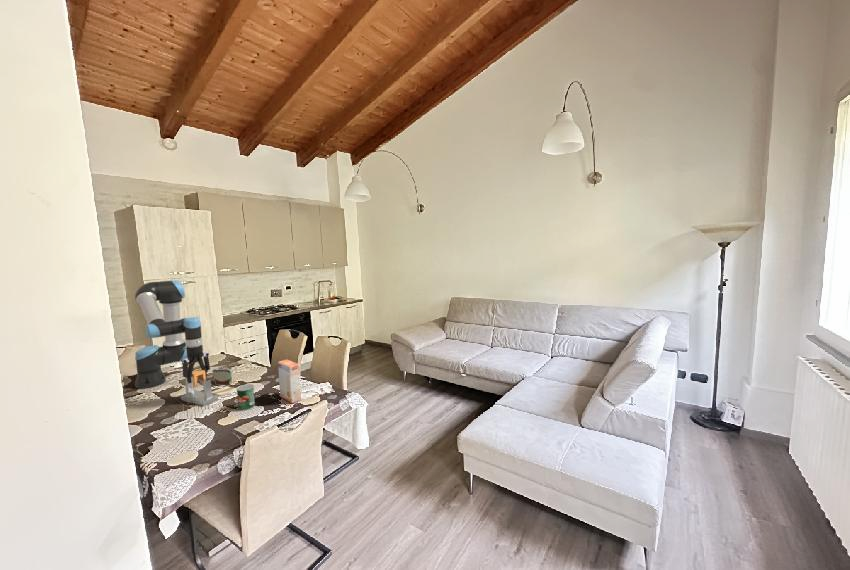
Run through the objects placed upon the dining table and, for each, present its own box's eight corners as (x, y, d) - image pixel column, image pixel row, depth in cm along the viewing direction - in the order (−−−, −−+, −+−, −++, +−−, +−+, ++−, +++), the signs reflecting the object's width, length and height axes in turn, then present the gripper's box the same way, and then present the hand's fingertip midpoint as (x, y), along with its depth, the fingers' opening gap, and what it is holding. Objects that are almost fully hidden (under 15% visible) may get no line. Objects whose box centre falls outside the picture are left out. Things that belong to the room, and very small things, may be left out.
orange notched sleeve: (189, 385, 190) (188, 372, 189) (200, 381, 196) (199, 369, 195) (195, 387, 188) (194, 374, 187) (206, 383, 194) (205, 370, 193)
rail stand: (181, 399, 193) (179, 378, 192) (195, 394, 201) (193, 373, 199) (203, 406, 185) (201, 384, 183) (218, 400, 192) (216, 378, 191)
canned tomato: (236, 411, 179) (234, 391, 178) (240, 404, 187) (238, 385, 185) (253, 409, 181) (251, 389, 180) (256, 402, 189) (254, 383, 187)
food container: (238, 381, 219) (237, 366, 218) (231, 385, 213) (230, 369, 212) (220, 380, 220) (218, 365, 219) (213, 384, 214) (211, 369, 213)
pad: (210, 393, 201) (210, 392, 201) (226, 386, 210) (226, 385, 210) (221, 396, 197) (221, 395, 197) (237, 389, 206) (237, 388, 206)
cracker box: (301, 400, 191) (299, 364, 188) (291, 404, 186) (289, 367, 184) (289, 393, 200) (287, 358, 198) (279, 396, 196) (277, 361, 193)
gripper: (180, 351, 179) (184, 393, 182) (215, 341, 196) (218, 380, 199) (171, 349, 182) (175, 391, 185) (207, 340, 199) (210, 378, 202)
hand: (198, 385), depth 192 cm, fingers closed on orange notched sleeve, 6 cm apart
